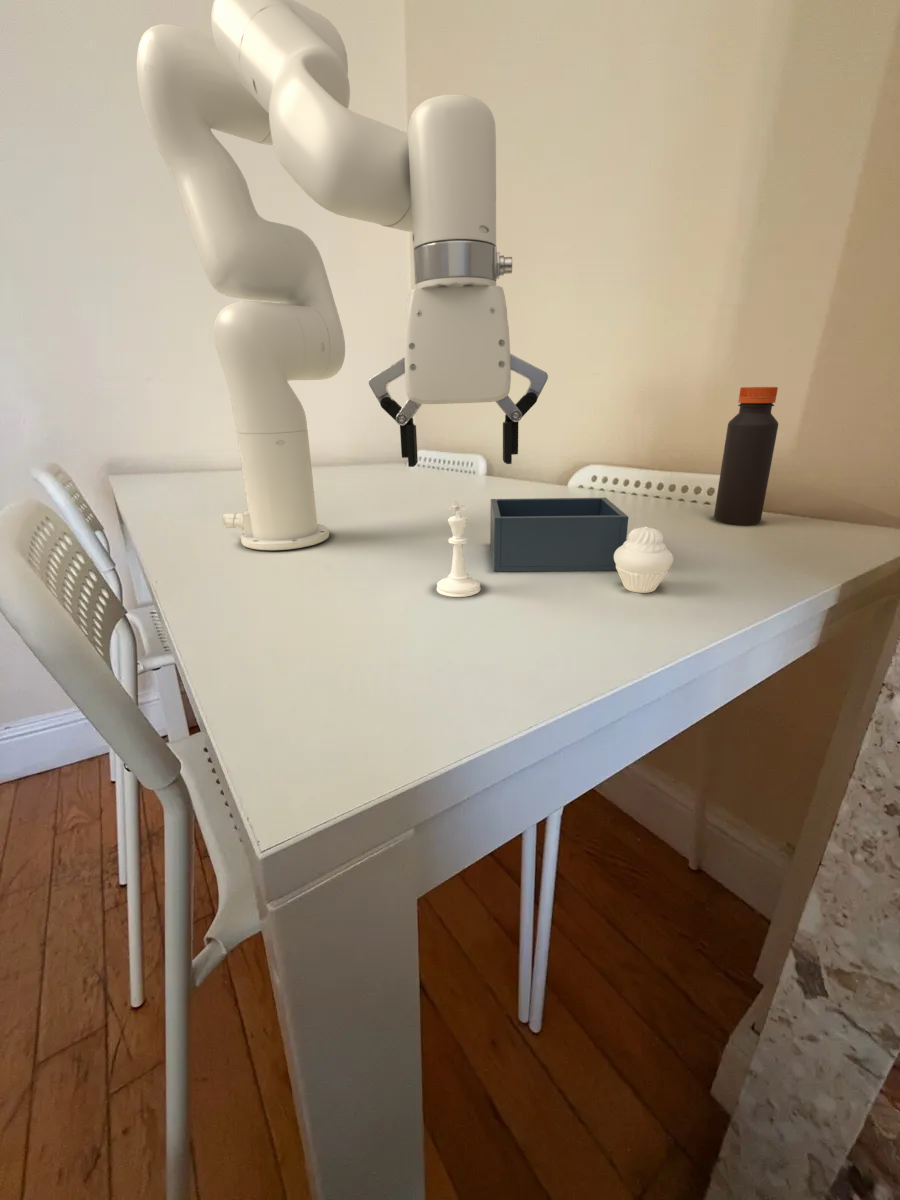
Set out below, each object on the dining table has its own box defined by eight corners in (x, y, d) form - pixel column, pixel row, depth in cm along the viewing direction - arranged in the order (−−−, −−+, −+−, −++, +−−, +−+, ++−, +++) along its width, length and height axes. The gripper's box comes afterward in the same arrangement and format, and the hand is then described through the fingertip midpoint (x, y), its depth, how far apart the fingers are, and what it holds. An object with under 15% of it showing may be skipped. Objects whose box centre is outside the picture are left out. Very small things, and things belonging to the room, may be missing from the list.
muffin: (668, 601, 59) (676, 535, 56) (607, 594, 61) (613, 530, 59) (670, 582, 64) (678, 521, 62) (614, 576, 66) (619, 517, 64)
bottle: (707, 515, 94) (726, 387, 87) (750, 516, 94) (773, 386, 86) (721, 525, 88) (743, 387, 81) (767, 526, 87) (794, 387, 80)
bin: (493, 571, 69) (494, 518, 67) (490, 545, 80) (490, 498, 77) (623, 570, 68) (628, 516, 66) (602, 544, 79) (606, 497, 77)
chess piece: (481, 597, 61) (481, 504, 57) (435, 597, 61) (433, 505, 58) (479, 581, 66) (480, 495, 62) (437, 582, 66) (434, 495, 62)
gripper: (544, 277, 55) (540, 457, 61) (368, 284, 56) (381, 461, 62) (556, 261, 48) (550, 466, 54) (354, 269, 49) (370, 471, 55)
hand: (460, 463), depth 58 cm, fingers open, 9 cm apart
